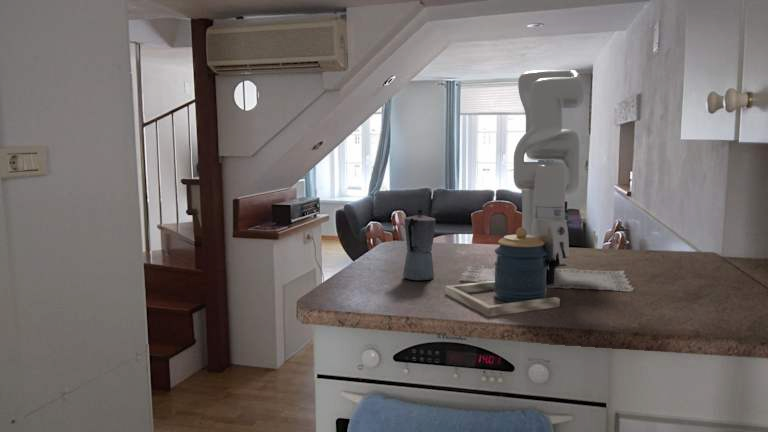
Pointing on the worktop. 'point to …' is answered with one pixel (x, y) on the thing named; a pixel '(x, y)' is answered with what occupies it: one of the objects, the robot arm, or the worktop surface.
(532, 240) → the canister
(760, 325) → the worktop surface
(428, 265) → the moka pot
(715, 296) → the worktop surface
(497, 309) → the bay frame
